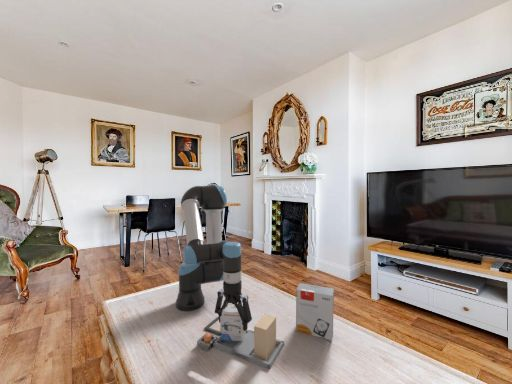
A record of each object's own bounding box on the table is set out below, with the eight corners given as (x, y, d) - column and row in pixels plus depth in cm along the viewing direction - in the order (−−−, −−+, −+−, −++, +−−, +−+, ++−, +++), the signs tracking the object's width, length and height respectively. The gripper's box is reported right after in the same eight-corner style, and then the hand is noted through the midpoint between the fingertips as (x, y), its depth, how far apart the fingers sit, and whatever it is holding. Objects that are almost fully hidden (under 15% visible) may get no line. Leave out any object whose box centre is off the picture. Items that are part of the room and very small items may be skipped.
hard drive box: (295, 333, 105) (295, 289, 104) (298, 324, 112) (298, 282, 111) (332, 342, 99) (332, 295, 98) (333, 331, 106) (334, 287, 105)
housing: (197, 347, 97) (196, 341, 97) (206, 338, 102) (206, 332, 102) (208, 351, 94) (208, 345, 94) (217, 342, 99) (217, 336, 99)
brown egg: (202, 345, 98) (202, 336, 97) (207, 340, 100) (206, 332, 100) (208, 347, 96) (208, 339, 96) (212, 343, 99) (212, 334, 99)
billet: (254, 357, 90) (254, 326, 89) (264, 343, 98) (264, 314, 97) (266, 361, 87) (266, 329, 87) (276, 346, 95) (276, 317, 95)
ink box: (221, 340, 97) (220, 312, 97) (224, 332, 102) (223, 305, 102) (242, 341, 96) (242, 313, 96) (244, 333, 101) (243, 306, 101)
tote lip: (204, 329, 109) (204, 327, 109) (224, 312, 123) (224, 310, 123) (226, 337, 103) (226, 335, 103) (245, 318, 117) (245, 316, 117)
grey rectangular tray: (212, 349, 96) (212, 343, 96) (232, 329, 108) (232, 324, 108) (269, 371, 84) (269, 365, 84) (284, 347, 96) (284, 341, 96)
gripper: (205, 278, 100) (206, 331, 101) (251, 289, 90) (251, 347, 91) (216, 272, 107) (217, 322, 108) (260, 282, 97) (260, 336, 97)
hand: (232, 333), depth 99 cm, fingers closed on ink box, 9 cm apart
